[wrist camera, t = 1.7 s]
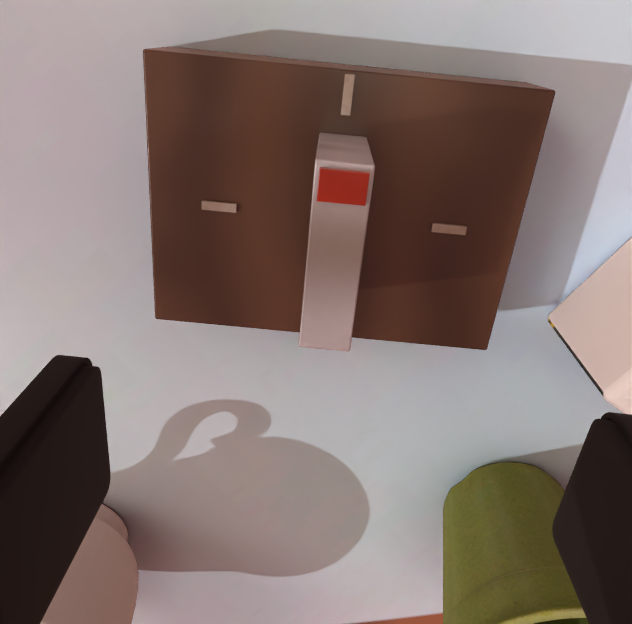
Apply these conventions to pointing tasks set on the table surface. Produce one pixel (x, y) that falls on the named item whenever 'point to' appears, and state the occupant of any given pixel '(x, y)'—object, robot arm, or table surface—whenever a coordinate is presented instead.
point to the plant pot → (505, 550)
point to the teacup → (98, 577)
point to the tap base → (297, 185)
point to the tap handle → (336, 240)
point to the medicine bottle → (602, 327)
